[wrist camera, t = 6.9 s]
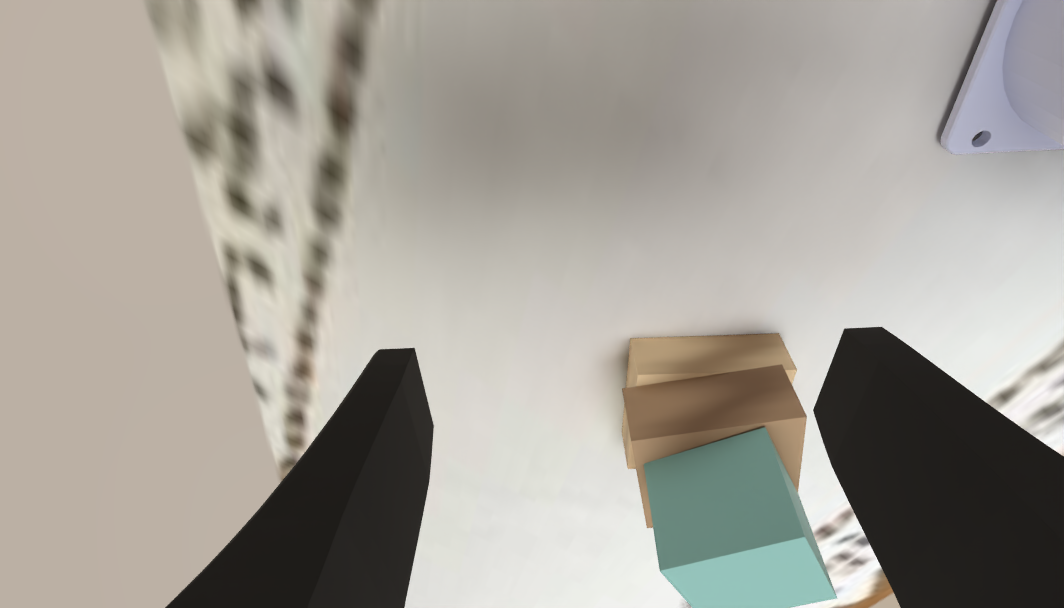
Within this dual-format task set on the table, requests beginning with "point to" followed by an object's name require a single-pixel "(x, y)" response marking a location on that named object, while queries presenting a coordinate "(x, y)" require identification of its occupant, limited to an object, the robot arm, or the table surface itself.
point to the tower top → (714, 417)
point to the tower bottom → (698, 362)
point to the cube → (734, 527)
